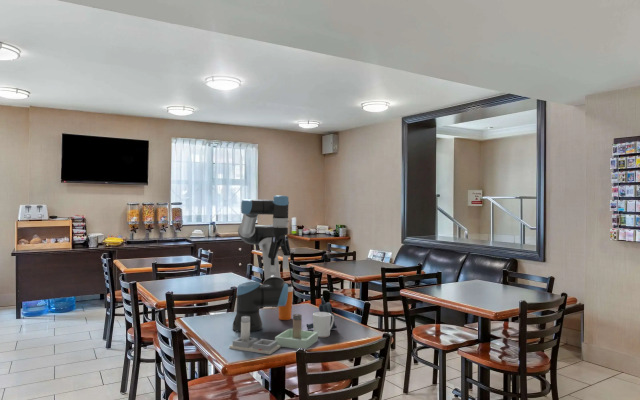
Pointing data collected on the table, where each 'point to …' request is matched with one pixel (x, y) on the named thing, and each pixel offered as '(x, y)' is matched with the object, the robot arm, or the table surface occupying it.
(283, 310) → the shaker bottle
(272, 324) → the table surface
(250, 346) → the panel
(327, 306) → the gun
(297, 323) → the fuse
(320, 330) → the mug
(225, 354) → the table surface
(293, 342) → the parts tray
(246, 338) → the fuse
